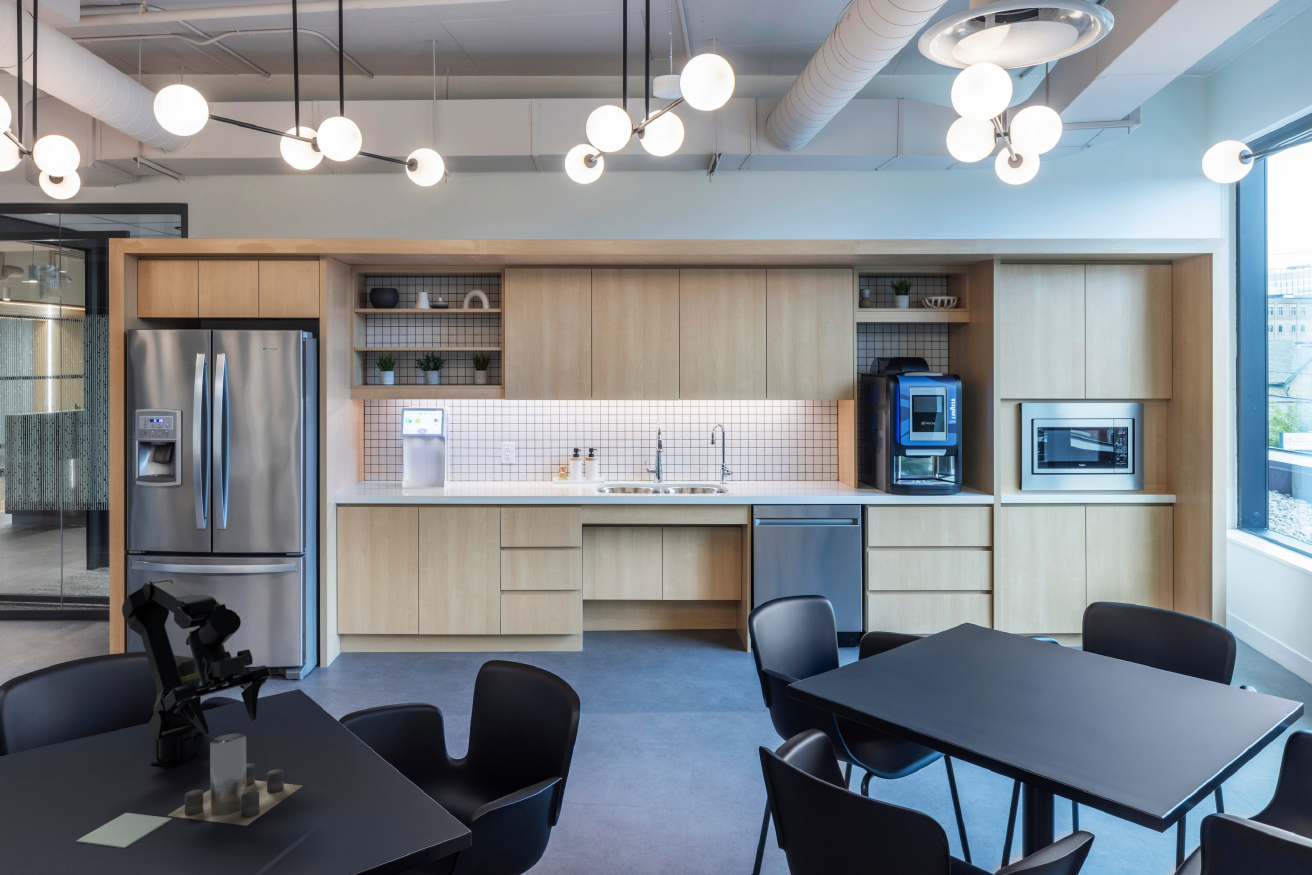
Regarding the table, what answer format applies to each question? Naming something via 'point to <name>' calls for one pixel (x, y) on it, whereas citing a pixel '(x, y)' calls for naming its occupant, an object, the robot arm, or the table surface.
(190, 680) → the coffee jar
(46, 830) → the table surface
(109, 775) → the table surface
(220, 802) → the clear upright cylinder
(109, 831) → the sage pad
